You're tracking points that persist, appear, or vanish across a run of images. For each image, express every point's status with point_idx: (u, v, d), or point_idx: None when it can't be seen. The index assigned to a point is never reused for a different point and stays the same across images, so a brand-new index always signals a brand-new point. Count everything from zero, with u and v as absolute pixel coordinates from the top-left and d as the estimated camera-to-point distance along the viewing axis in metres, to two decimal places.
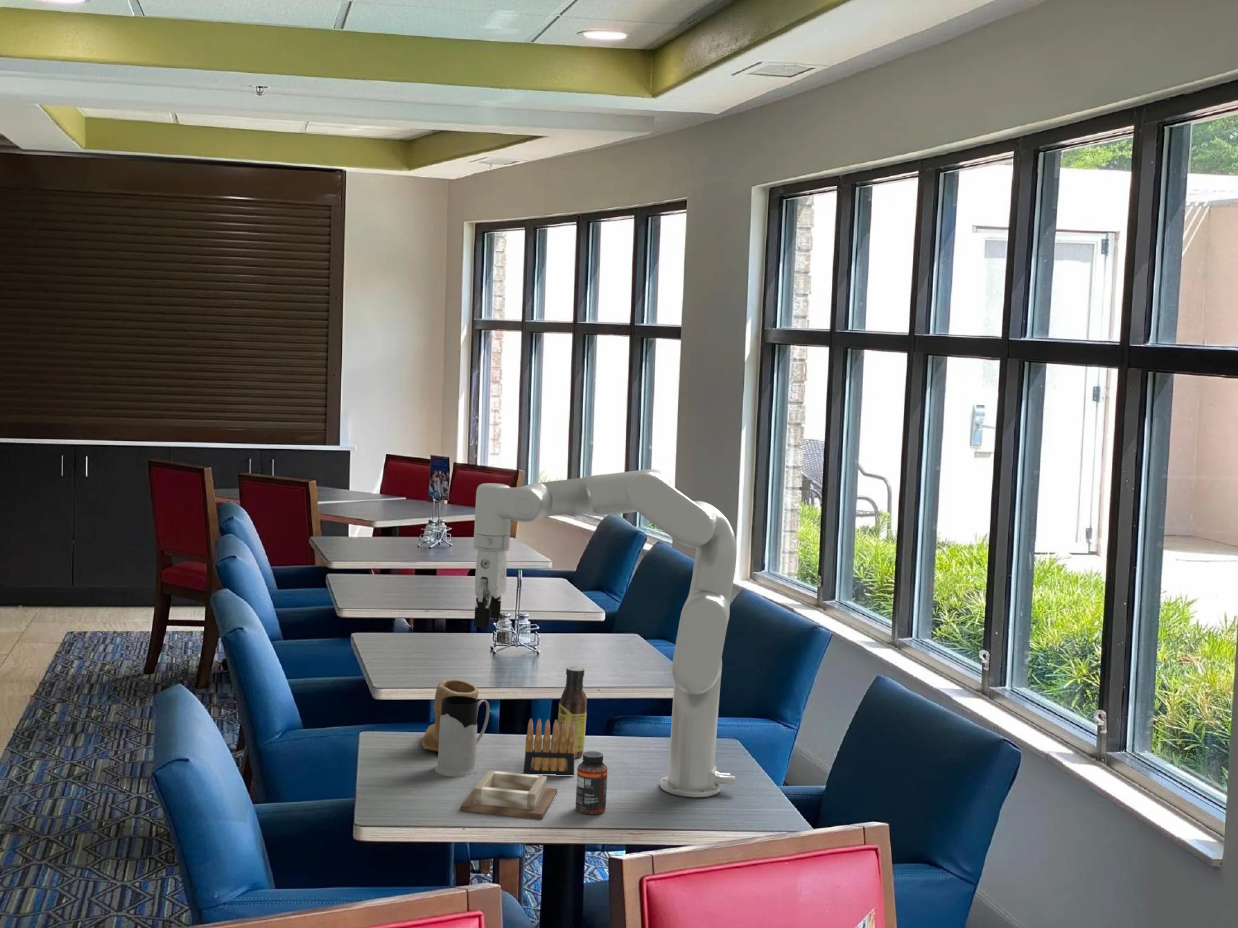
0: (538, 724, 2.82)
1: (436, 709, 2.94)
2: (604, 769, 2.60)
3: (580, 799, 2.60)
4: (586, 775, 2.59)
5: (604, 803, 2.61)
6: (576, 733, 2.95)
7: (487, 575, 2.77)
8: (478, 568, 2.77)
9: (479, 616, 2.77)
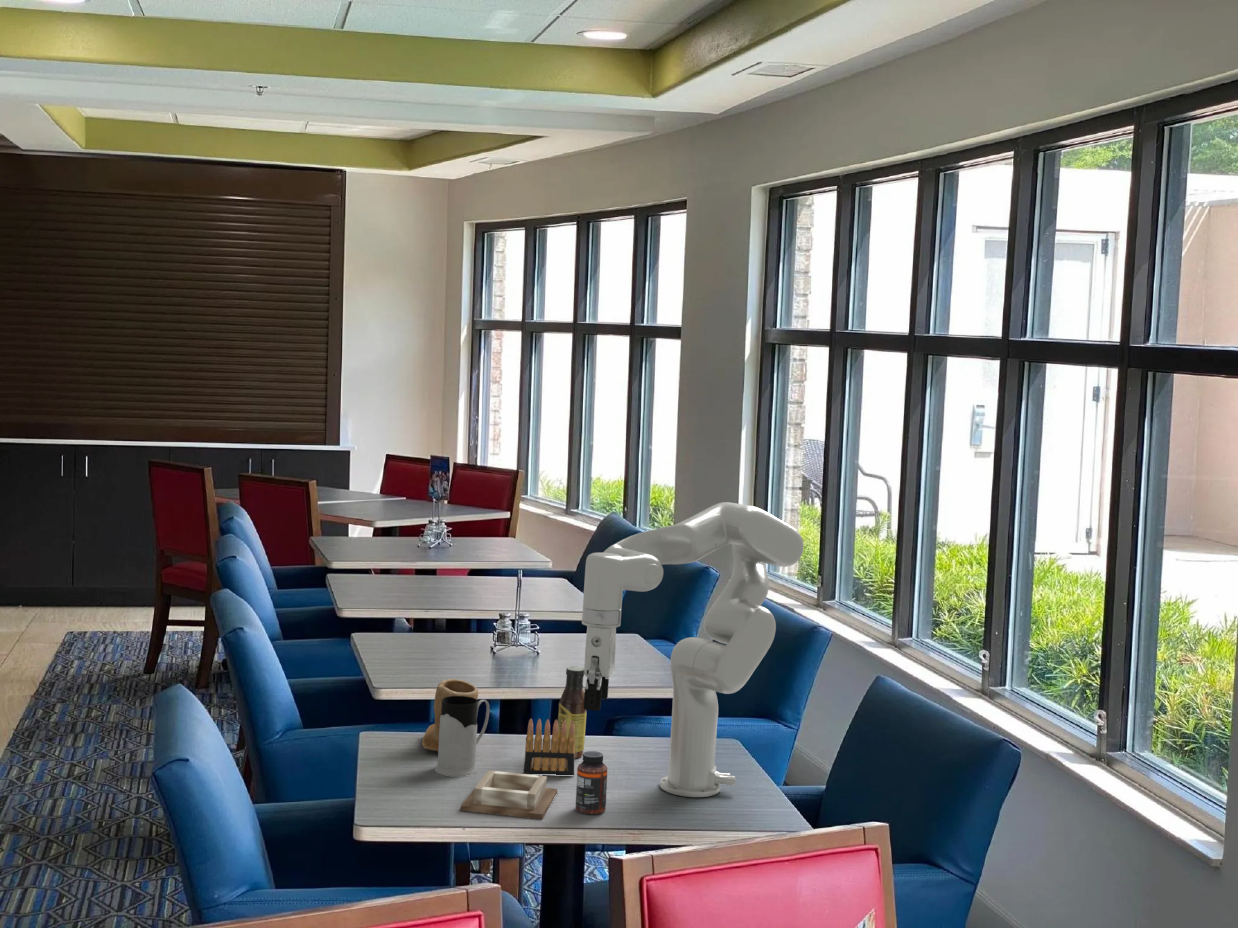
0: (538, 724, 2.82)
1: (436, 709, 2.94)
2: (604, 769, 2.60)
3: (580, 799, 2.60)
4: (586, 775, 2.59)
5: (604, 803, 2.61)
6: (576, 733, 2.95)
7: (598, 654, 2.54)
8: (588, 646, 2.55)
9: (589, 698, 2.54)
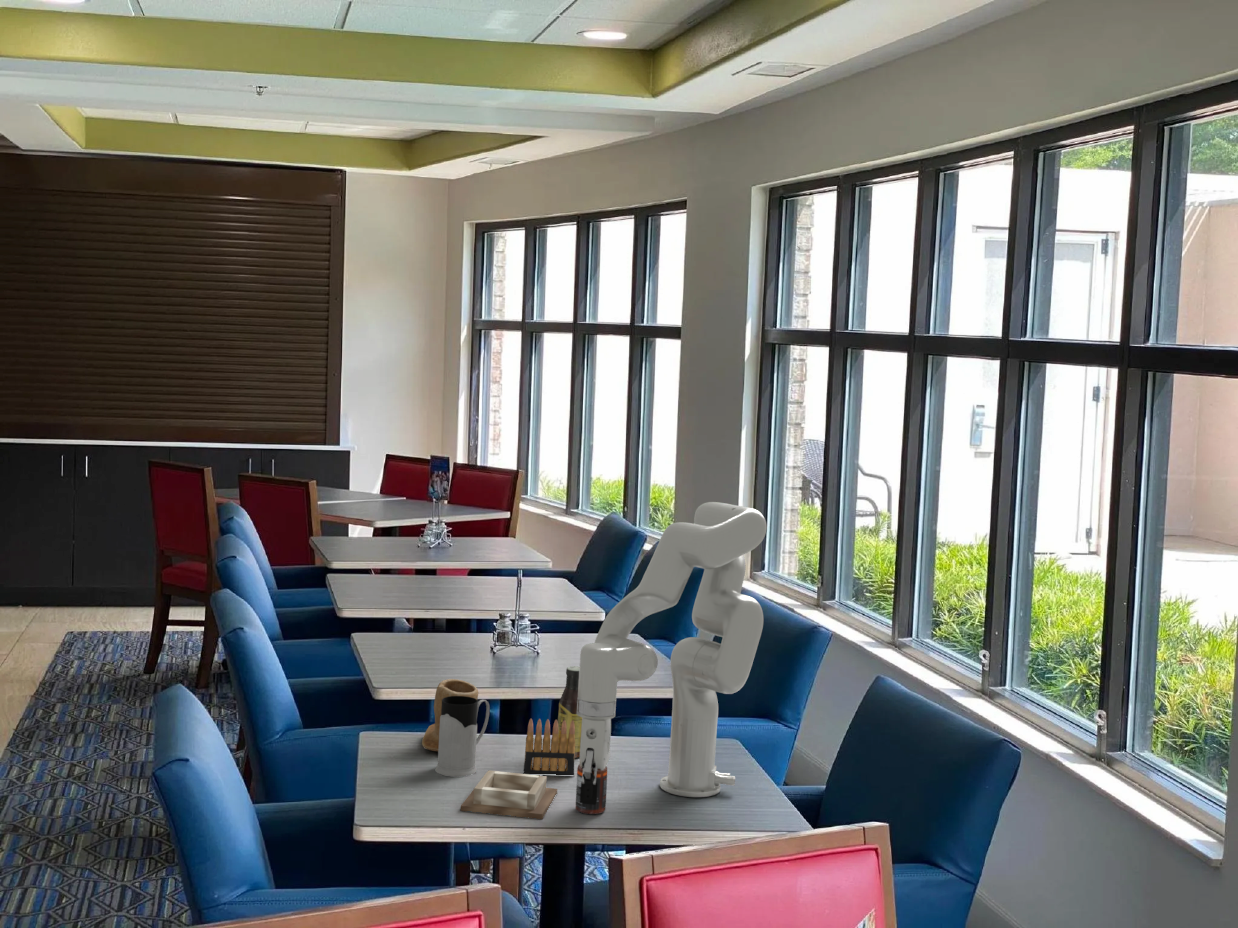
0: (538, 724, 2.82)
1: (436, 709, 2.94)
2: (604, 769, 2.60)
3: None
4: None
5: (604, 803, 2.61)
6: (576, 733, 2.95)
7: (593, 749, 2.56)
8: (583, 738, 2.56)
9: (586, 793, 2.57)
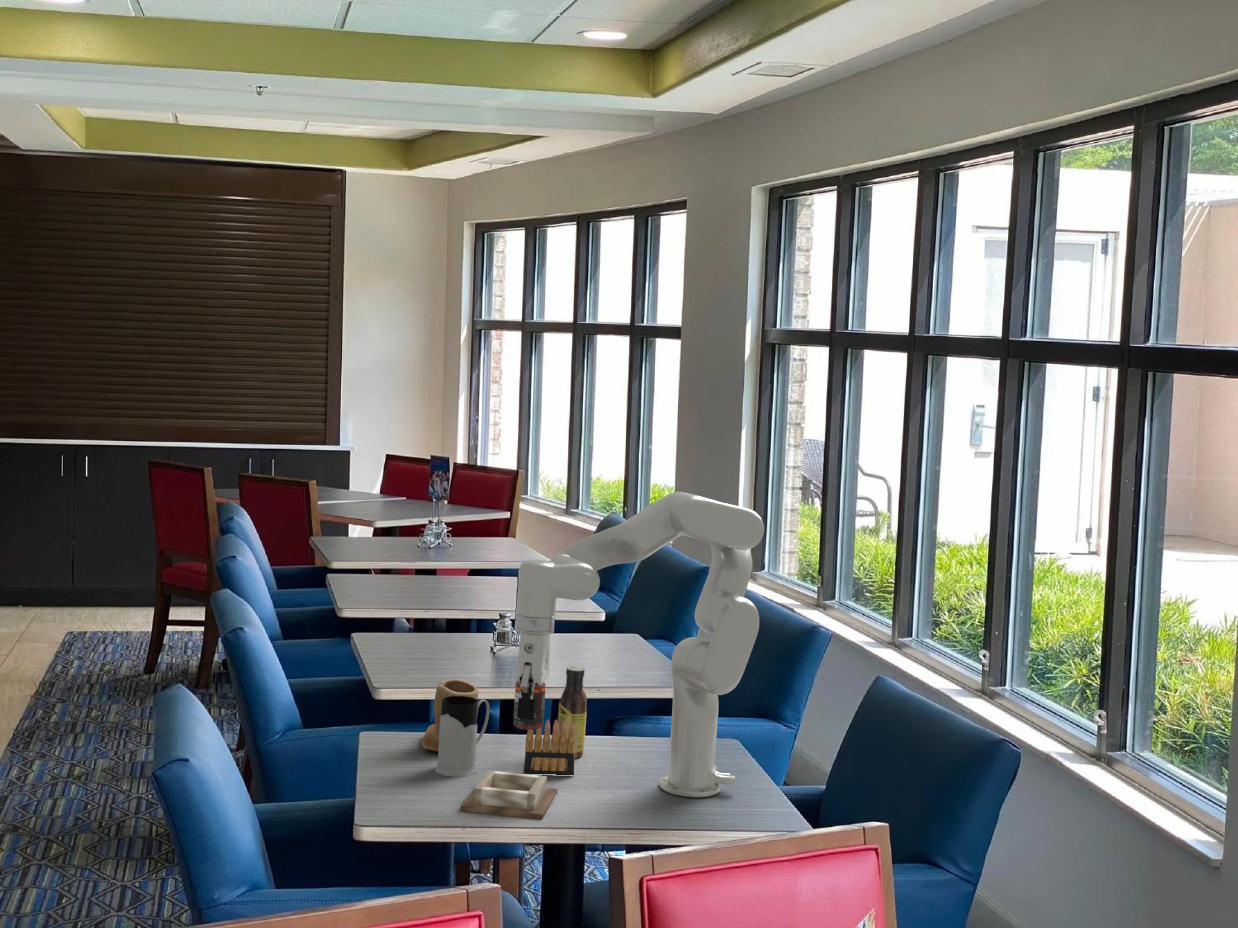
0: None
1: (436, 709, 2.94)
2: (542, 685, 2.60)
3: None
4: None
5: (542, 719, 2.61)
6: (576, 733, 2.95)
7: (531, 663, 2.56)
8: (521, 652, 2.57)
9: (523, 707, 2.58)
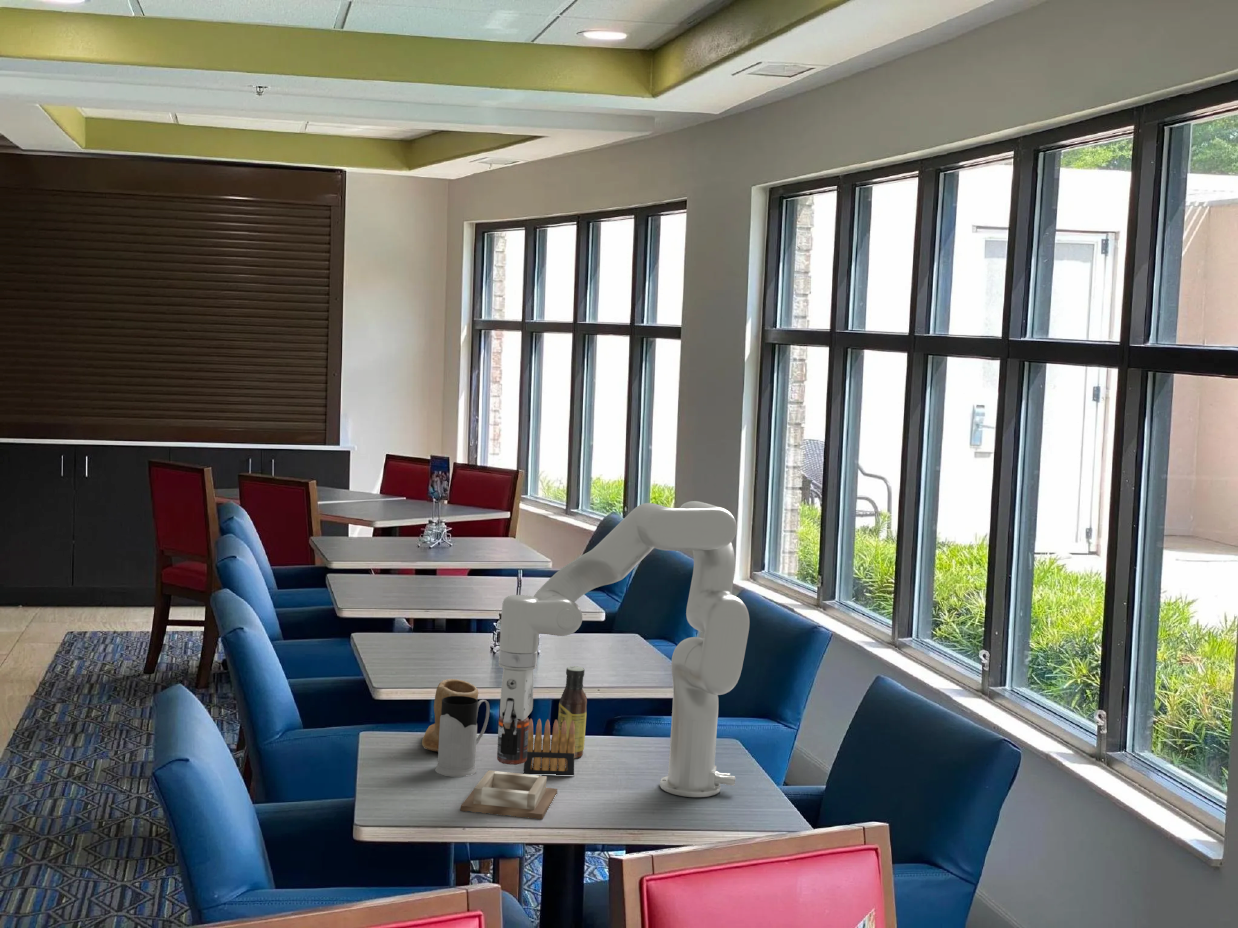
0: (538, 724, 2.82)
1: (436, 709, 2.94)
2: (525, 720, 2.61)
3: (500, 749, 2.61)
4: None
5: (525, 754, 2.62)
6: (576, 733, 2.95)
7: (513, 699, 2.57)
8: (504, 688, 2.58)
9: (506, 743, 2.59)
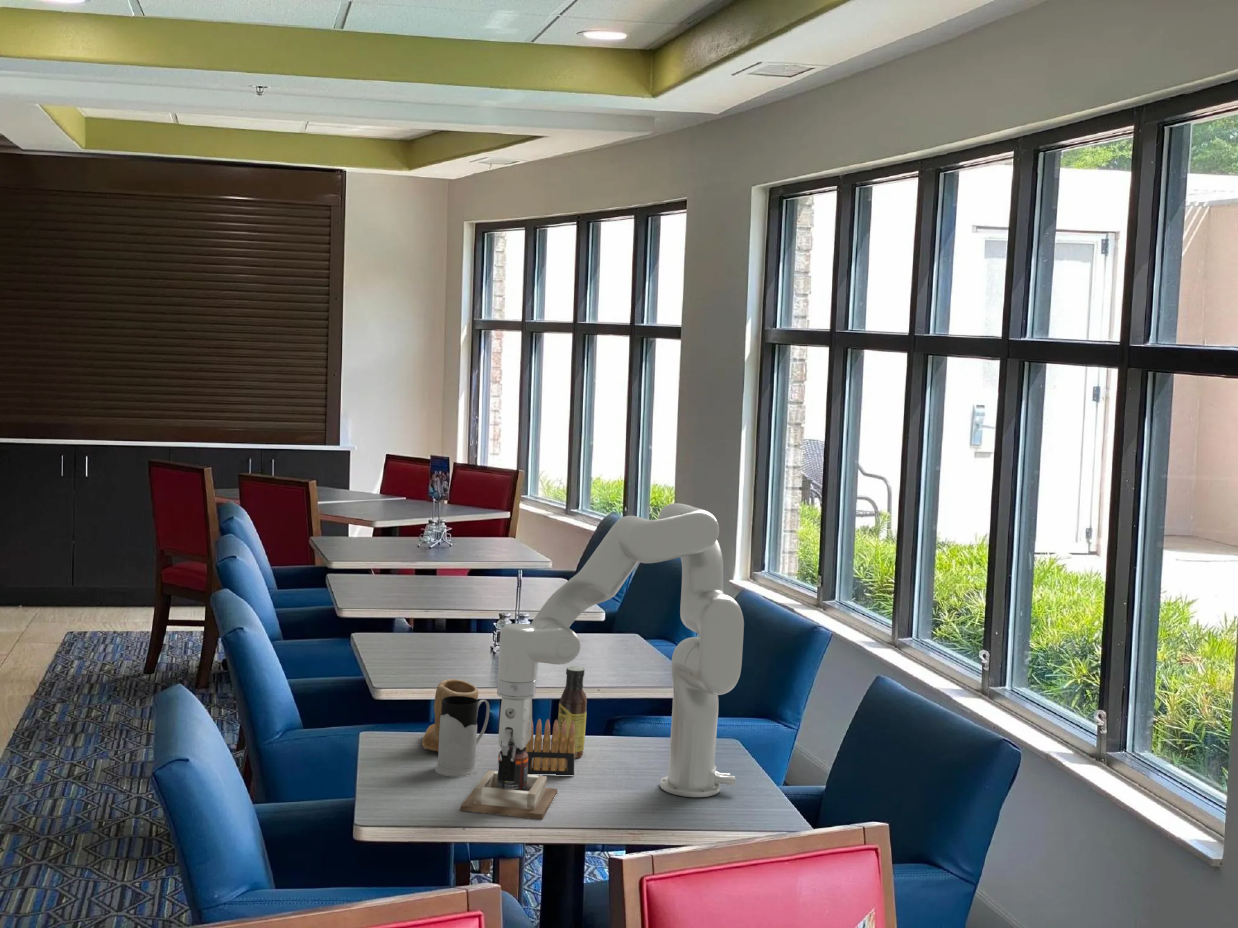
0: (538, 724, 2.82)
1: (436, 709, 2.94)
2: (524, 756, 2.62)
3: (500, 786, 2.62)
4: None
5: (524, 790, 2.62)
6: (576, 733, 2.95)
7: (512, 725, 2.58)
8: (502, 717, 2.58)
9: (503, 769, 2.58)
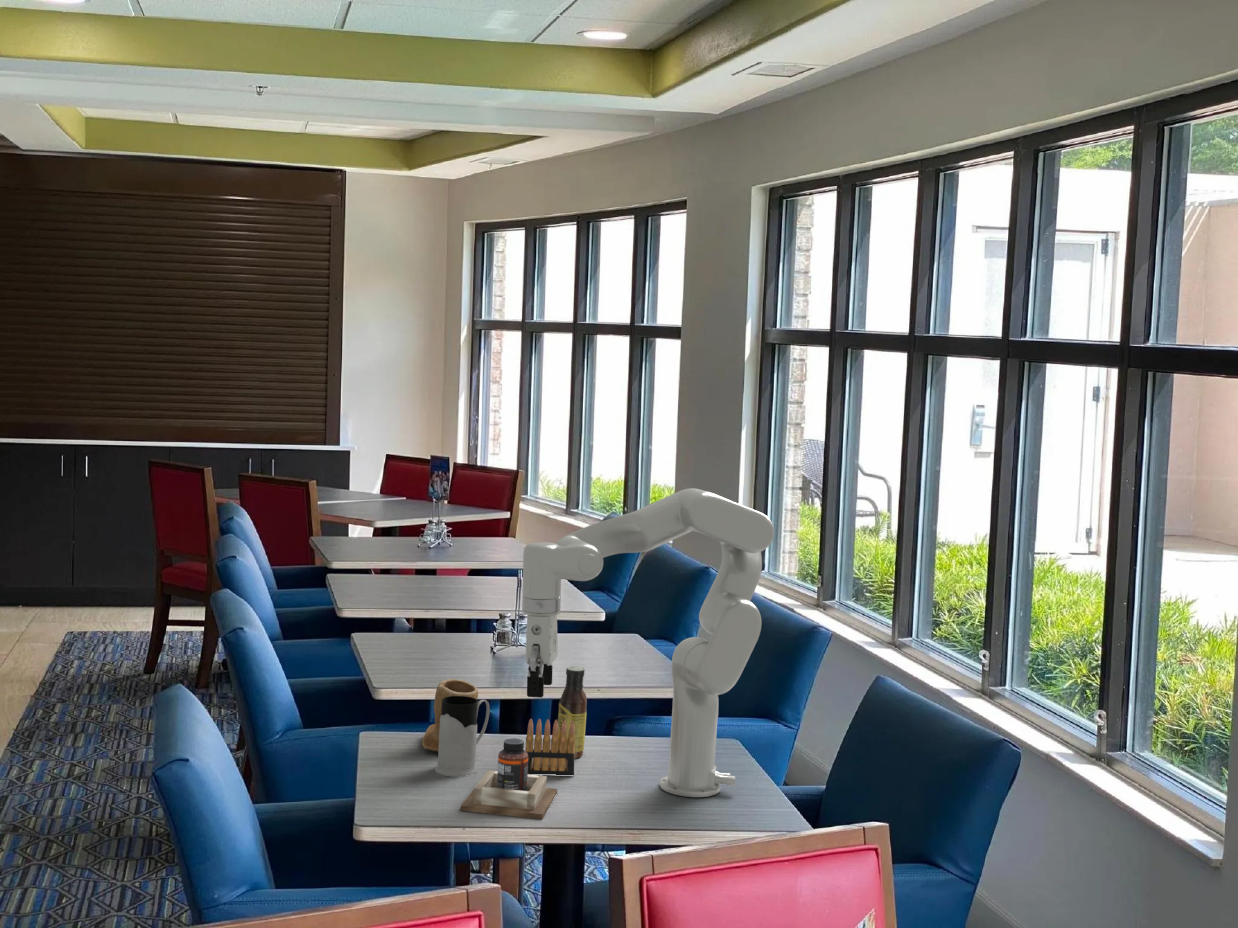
0: (538, 724, 2.82)
1: (436, 709, 2.94)
2: (524, 756, 2.62)
3: (500, 786, 2.62)
4: (506, 762, 2.60)
5: (524, 790, 2.62)
6: (576, 733, 2.95)
7: (539, 642, 2.60)
8: (529, 634, 2.60)
9: (532, 686, 2.60)
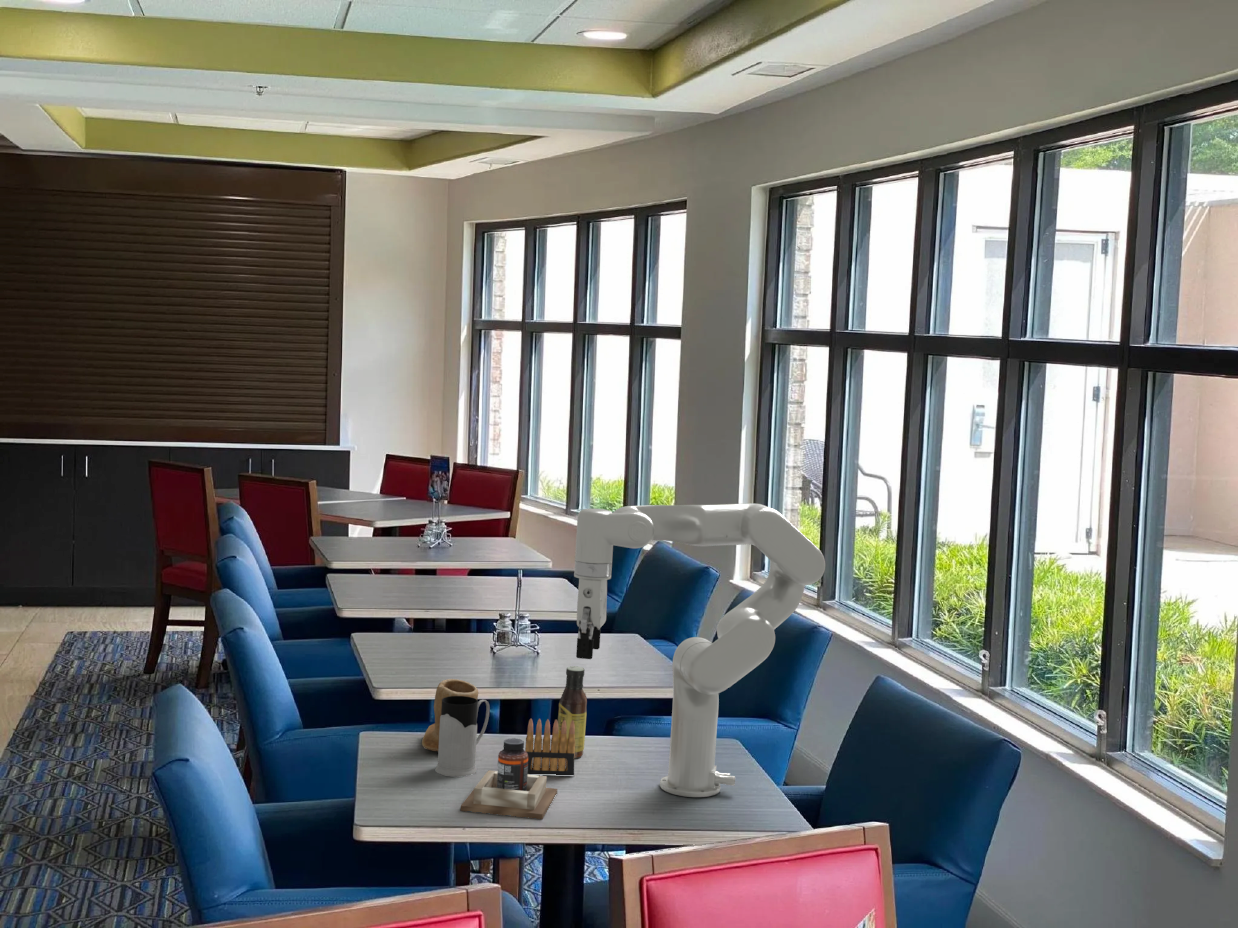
0: (538, 724, 2.82)
1: (436, 709, 2.94)
2: (524, 756, 2.62)
3: (500, 786, 2.62)
4: (506, 762, 2.60)
5: (524, 790, 2.62)
6: (576, 733, 2.95)
7: (590, 605, 2.66)
8: (580, 597, 2.67)
9: (582, 647, 2.66)
